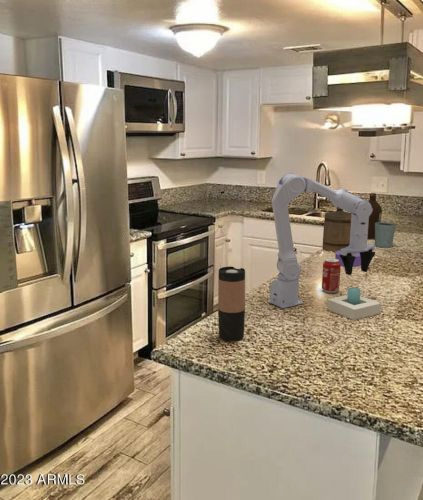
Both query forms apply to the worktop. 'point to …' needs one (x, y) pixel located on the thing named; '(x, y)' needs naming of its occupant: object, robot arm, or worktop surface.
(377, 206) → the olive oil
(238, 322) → the travel mug
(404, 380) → the worktop surface
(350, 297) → the teal dowel
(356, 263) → the tape roll
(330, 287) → the beverage can
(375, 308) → the well block
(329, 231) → the wooden container
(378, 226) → the drinking glass
